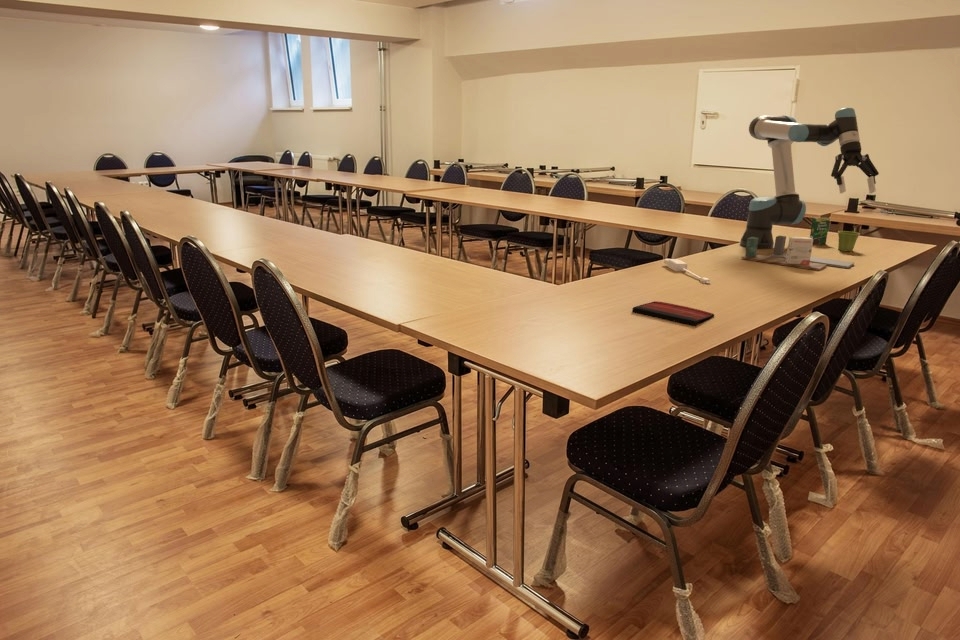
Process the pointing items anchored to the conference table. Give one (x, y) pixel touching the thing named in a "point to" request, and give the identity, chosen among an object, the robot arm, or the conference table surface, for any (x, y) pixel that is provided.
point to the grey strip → (780, 254)
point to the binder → (673, 313)
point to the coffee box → (819, 230)
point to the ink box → (799, 250)
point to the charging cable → (682, 268)
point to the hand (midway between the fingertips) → (857, 192)
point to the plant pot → (847, 240)
